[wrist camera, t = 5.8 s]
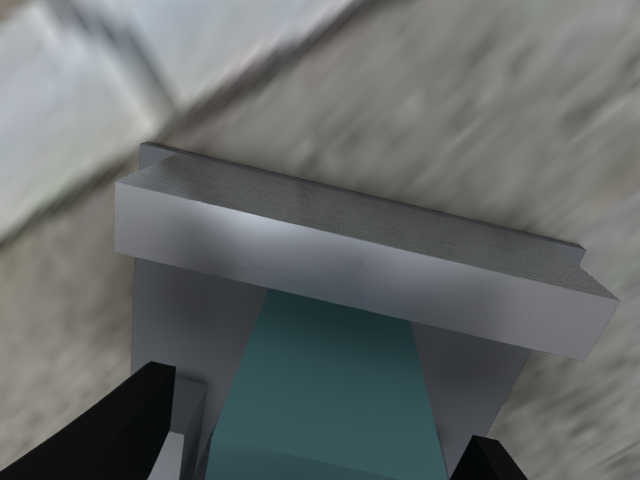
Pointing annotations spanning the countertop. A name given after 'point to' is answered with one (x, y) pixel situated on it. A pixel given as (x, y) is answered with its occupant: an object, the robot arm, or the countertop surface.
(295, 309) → the block
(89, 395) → the countertop surface
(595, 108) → the countertop surface
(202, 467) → the block
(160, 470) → the base
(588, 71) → the countertop surface
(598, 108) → the countertop surface
